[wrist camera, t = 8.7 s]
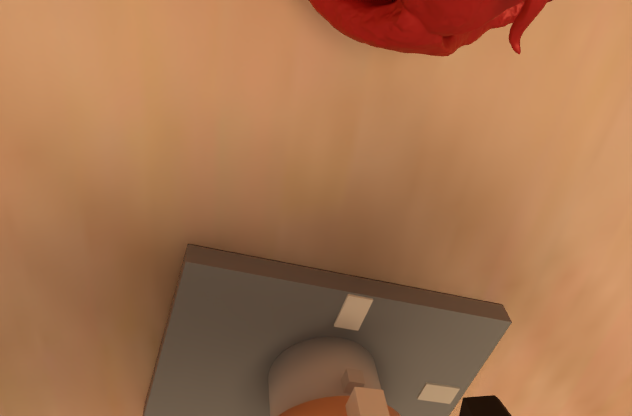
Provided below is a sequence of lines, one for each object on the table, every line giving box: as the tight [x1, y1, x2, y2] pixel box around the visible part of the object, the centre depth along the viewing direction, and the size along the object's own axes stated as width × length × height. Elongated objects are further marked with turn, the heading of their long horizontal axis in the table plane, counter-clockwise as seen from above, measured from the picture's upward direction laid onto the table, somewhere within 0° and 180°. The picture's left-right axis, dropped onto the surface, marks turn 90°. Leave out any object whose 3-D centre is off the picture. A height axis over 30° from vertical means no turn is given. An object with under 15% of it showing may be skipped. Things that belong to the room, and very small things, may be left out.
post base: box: [143, 244, 512, 416], centre depth 23 cm, size 13×9×4 cm
